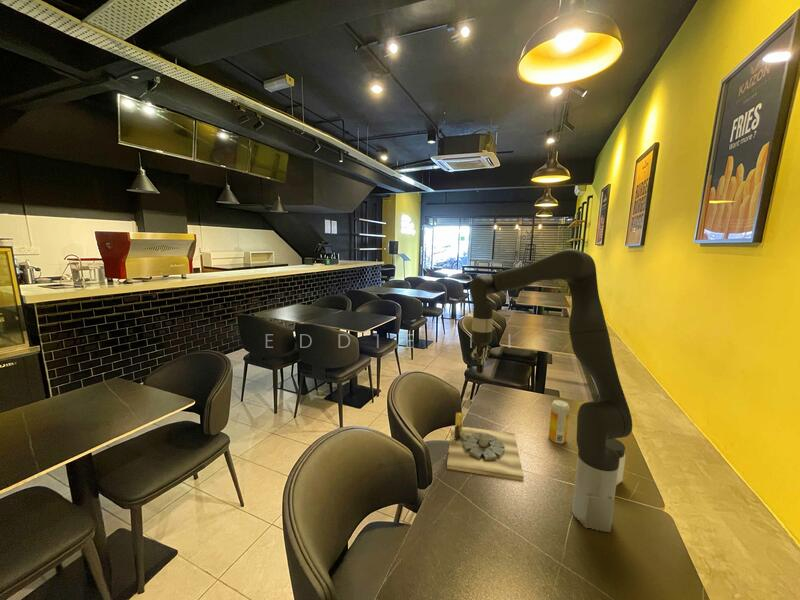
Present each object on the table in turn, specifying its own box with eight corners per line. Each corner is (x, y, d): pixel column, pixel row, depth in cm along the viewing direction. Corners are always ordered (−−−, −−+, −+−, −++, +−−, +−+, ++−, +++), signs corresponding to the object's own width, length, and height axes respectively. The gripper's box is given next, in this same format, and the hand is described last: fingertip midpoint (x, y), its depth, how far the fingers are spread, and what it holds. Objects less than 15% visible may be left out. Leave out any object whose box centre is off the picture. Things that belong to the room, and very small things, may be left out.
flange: (509, 445, 115) (511, 422, 113) (494, 465, 104) (495, 440, 102) (464, 427, 126) (465, 405, 124) (445, 443, 115) (446, 420, 114)
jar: (589, 479, 100) (593, 445, 98) (588, 464, 107) (592, 432, 105) (623, 490, 96) (628, 454, 94) (620, 473, 103) (625, 440, 101)
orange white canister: (562, 435, 124) (565, 399, 121) (568, 445, 118) (572, 407, 115) (546, 434, 125) (549, 398, 122) (552, 443, 119) (555, 406, 116)
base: (523, 480, 100) (524, 462, 99) (446, 468, 105) (447, 450, 104) (514, 436, 123) (515, 421, 122) (451, 428, 128) (452, 413, 127)
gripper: (482, 334, 112) (480, 380, 114) (499, 327, 121) (496, 370, 124) (463, 330, 117) (462, 374, 119) (481, 324, 126) (479, 365, 129)
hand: (479, 372), depth 122 cm, fingers closed
